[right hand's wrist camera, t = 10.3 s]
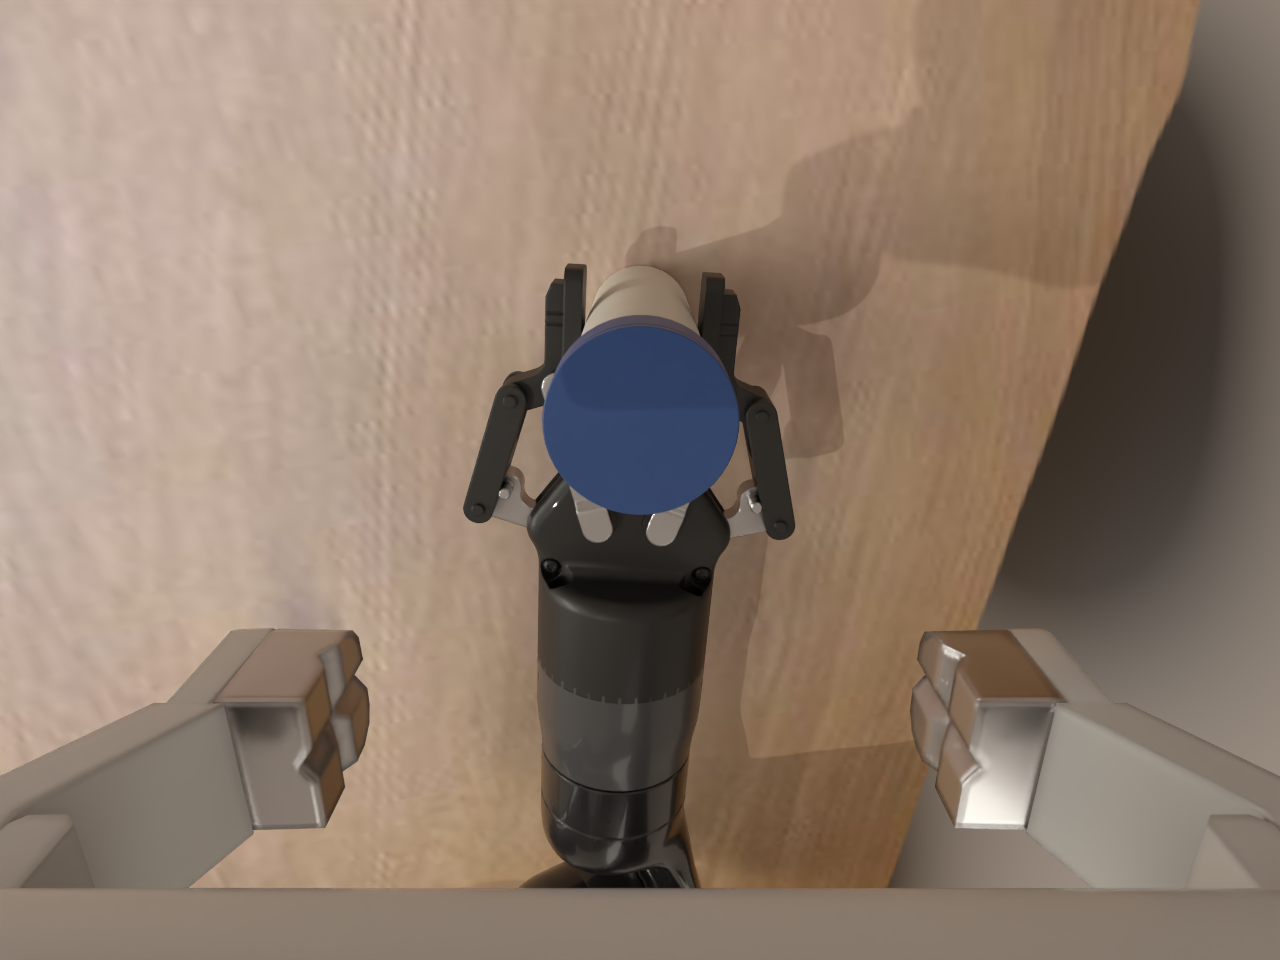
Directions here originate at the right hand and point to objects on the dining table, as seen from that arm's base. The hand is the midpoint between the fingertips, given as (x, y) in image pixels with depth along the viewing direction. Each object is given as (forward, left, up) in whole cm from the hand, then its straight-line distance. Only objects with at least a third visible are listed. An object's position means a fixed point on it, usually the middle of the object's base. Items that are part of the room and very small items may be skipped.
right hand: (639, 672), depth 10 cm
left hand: (-2, +1, -22) cm, 22 cm away
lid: (0, 0, -11) cm, 11 cm away
